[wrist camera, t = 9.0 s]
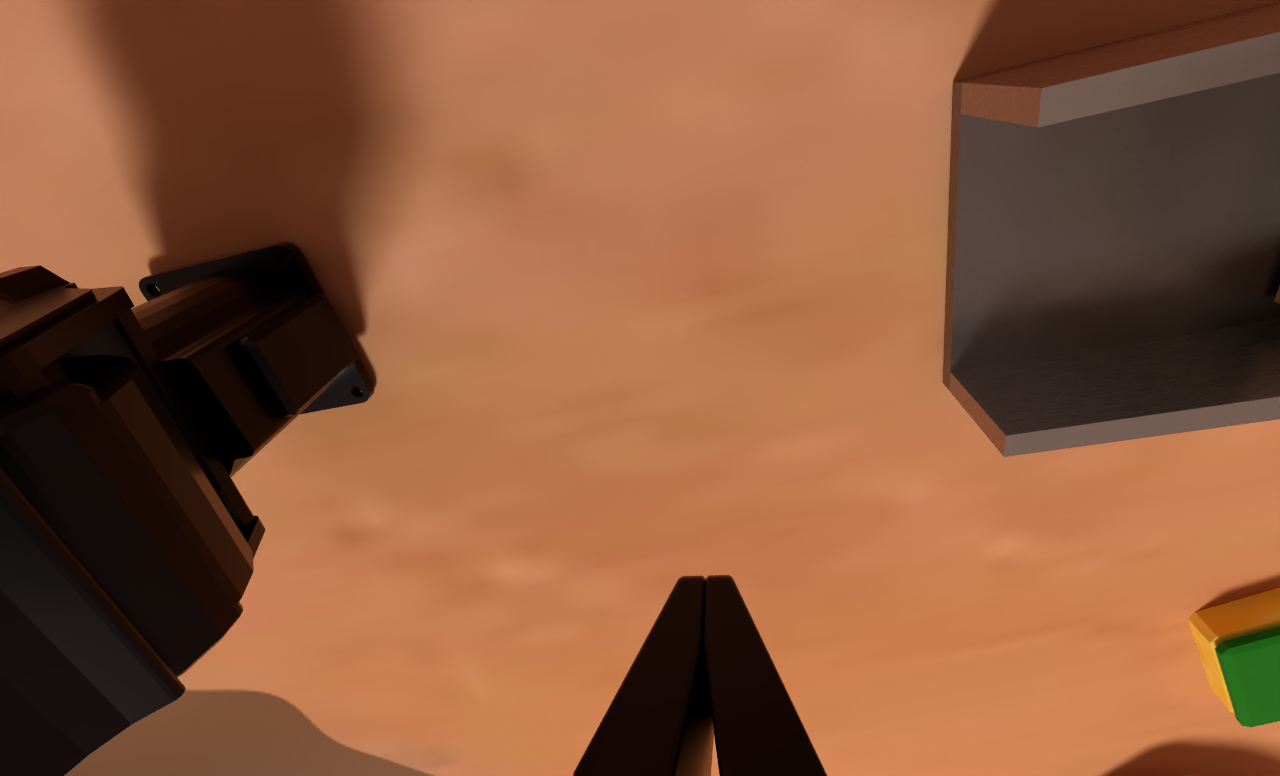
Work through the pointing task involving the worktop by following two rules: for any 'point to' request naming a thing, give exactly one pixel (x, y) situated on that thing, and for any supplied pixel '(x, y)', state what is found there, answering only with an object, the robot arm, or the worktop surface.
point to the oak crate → (1278, 296)
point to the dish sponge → (1243, 655)
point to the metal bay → (1118, 239)
